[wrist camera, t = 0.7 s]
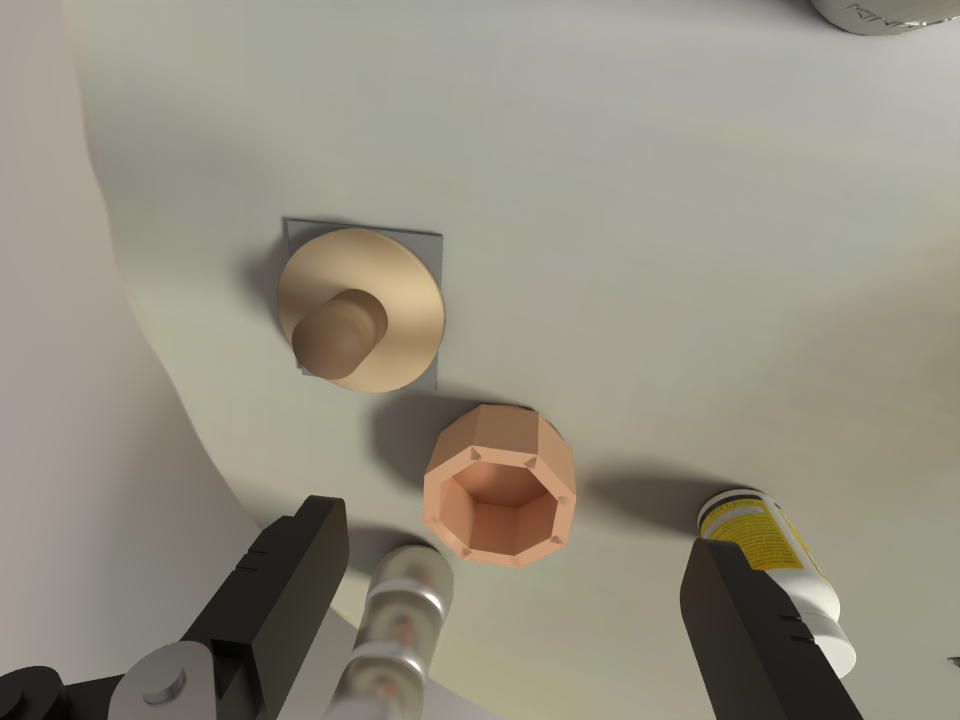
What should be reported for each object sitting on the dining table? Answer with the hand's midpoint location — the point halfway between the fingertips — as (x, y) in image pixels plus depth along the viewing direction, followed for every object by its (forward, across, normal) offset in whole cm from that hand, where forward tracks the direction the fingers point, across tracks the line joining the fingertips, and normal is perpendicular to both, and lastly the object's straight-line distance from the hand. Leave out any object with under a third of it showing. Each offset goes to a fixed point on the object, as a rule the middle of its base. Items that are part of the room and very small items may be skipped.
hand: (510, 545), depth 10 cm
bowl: (+19, +1, +11) cm, 22 cm away
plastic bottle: (+19, +7, +22) cm, 30 cm away
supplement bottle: (+19, -16, +14) cm, 28 cm away
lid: (+18, +10, 0) cm, 20 cm away
